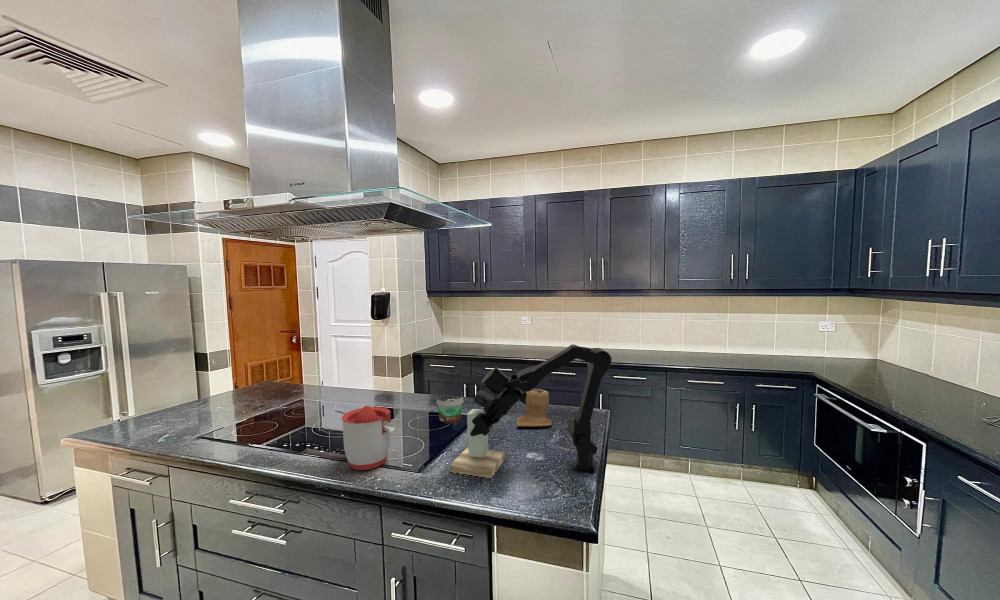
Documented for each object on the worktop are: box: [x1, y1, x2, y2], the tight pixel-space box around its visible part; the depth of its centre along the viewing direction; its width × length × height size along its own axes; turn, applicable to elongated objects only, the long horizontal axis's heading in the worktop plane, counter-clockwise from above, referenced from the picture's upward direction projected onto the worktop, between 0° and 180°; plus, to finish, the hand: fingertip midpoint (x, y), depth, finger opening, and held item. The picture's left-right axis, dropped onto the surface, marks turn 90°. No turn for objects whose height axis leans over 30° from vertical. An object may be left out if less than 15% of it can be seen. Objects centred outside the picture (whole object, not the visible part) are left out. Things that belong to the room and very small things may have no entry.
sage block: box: [466, 408, 489, 457], centre depth 127 cm, size 5×5×14 cm
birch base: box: [449, 446, 506, 479], centre depth 127 cm, size 14×14×2 cm
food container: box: [435, 395, 464, 424], centre depth 168 cm, size 12×6×10 cm, turn 114°
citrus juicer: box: [341, 405, 396, 471], centre depth 130 cm, size 16×17×20 cm
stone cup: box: [515, 388, 553, 428], centre depth 163 cm, size 15×12×15 cm
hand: (474, 432), depth 127 cm, fingers closed on sage block, 5 cm apart
